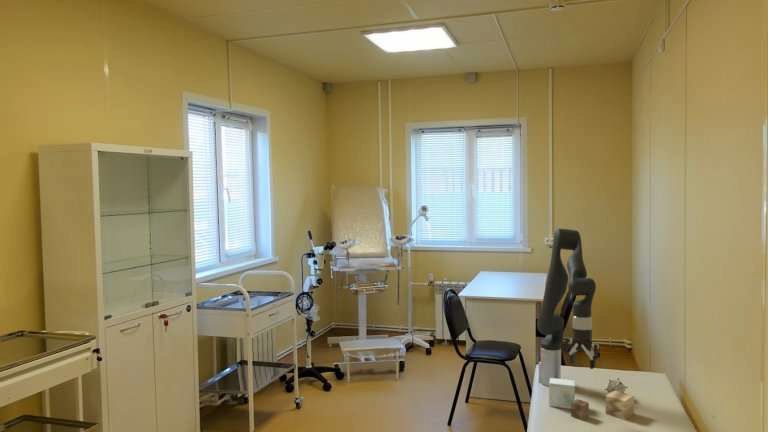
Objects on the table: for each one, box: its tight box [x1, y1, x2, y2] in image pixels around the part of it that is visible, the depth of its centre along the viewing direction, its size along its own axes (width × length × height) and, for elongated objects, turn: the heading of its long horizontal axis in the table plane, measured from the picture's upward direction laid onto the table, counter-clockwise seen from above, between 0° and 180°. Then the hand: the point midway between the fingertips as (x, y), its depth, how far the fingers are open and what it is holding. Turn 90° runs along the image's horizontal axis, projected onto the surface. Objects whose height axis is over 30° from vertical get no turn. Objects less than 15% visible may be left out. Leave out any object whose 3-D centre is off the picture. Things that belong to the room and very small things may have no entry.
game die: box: [604, 377, 629, 394], centre depth 246 cm, size 9×8×10 cm
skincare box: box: [548, 378, 576, 410], centre depth 238 cm, size 10×6×10 cm, turn 70°
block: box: [570, 398, 590, 421], centre depth 226 cm, size 5×5×6 cm
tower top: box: [605, 391, 635, 411], centre depth 228 cm, size 8×8×4 cm
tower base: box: [605, 404, 635, 421], centre depth 228 cm, size 8×8×4 cm
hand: (582, 366), depth 226 cm, fingers open, 8 cm apart
